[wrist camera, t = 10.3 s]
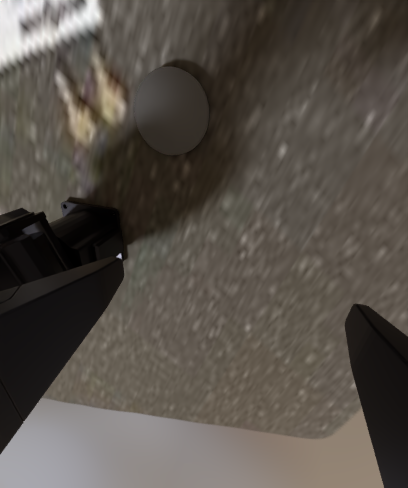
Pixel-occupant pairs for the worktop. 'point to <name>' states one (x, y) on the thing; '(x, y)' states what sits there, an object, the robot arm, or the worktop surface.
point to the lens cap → (171, 110)
